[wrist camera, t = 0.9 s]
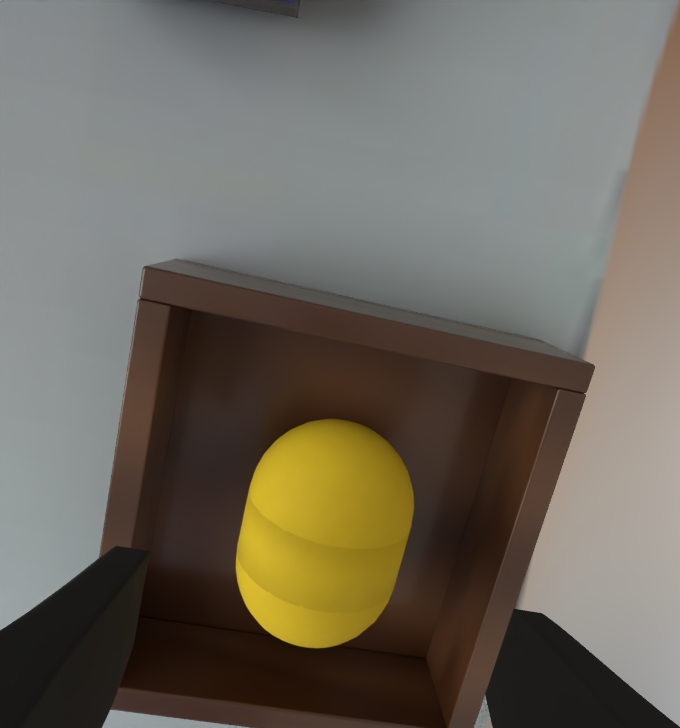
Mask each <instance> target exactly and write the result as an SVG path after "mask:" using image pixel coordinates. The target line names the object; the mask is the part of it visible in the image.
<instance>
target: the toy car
mask: <svg viewBox="0 0 680 728" xmlns="http://www.w3.org/2000/svg"><path fill="white" fill-rule="evenodd" d="M212 1H217V2H222V3H227V4H232V5H237V6H242V7H247V8H252V9H257V10H262V11H267V12H272V13H277V14H282V15H287V16H292V17H297V18H298V12H299V4H300V0H212Z"/></svg>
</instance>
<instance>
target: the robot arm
mask: <svg viewBox="0 0 680 728" xmlns="http://www.w3.org/2000/svg"><path fill="white" fill-rule="evenodd" d="M148 557H149V551H146V550H140V549H134V548H128V547H121V546H115V547H113V548H112V549H110V550H109V551H107V552H106V553H105V554H104V555H102V556H101V557H100V558H99V559H97V560H96V561H95V562H94V563H92V564H91V565H90V566H89V567H87V568H86V569H85V570H84V571H82V572H81V573H80V574H79V575H77V576H76V577H75V578H73V579H72V580H71V581H70V582H68V583H67V584H66V585H64V586H63V587H62V588H60V589H59V590H58V591H56V592H55V593H53V594H52V595H51V596H49V597H48V598H47V599H45V600H44V601H43V602H41V603H40V604H38V605H37V606H36V607H34V608H33V609H32V610H30V611H29V612H27V613H26V614H24V615H23V616H22V617H20V618H19V619H17V620H15V621H14V622H12V623H11V624H9V625H8V626H6V627H5V628H3V629H2V630H0V728H102V726H103V724H104V722H105V720H106V717H107V715H108V713H109V711H110V709H111V707H112V704H113V702H114V700H115V697H116V694H117V692H118V689H119V686H120V683H121V680H122V677H123V675H124V672H125V669H126V666H127V663H128V660H129V657H130V654H131V651H132V648H133V645H134V640H135V634H136V628H137V622H138V616H139V610H140V605H141V599H142V593H143V587H144V581H145V575H146V569H147V563H148ZM485 695H486V700H487V704H488V709H489V713H490V718H491V722H492V726H493V728H680V727H679V726H678V725H677V724H675V723H674V722H673V721H672V720H670V719H669V718H668V717H666V716H665V715H664V714H663V713H662V712H660V711H659V710H658V709H657V708H655V707H654V706H653V705H652V704H651V703H649V702H648V701H647V700H646V699H644V698H643V697H642V696H641V695H640V694H638V693H637V692H636V691H635V690H634V689H633V688H631V687H630V686H629V685H628V684H627V683H626V682H624V681H623V680H622V679H621V678H620V677H618V676H617V675H616V674H615V673H614V672H612V671H611V670H610V669H609V668H608V667H607V666H606V665H604V664H603V663H602V662H601V661H600V660H599V659H598V658H596V657H595V656H594V655H593V654H592V653H590V652H589V651H588V650H587V649H586V648H585V647H584V646H582V645H581V644H580V643H579V642H578V641H577V640H575V639H574V638H573V637H572V636H570V635H569V634H568V633H567V632H566V631H565V630H563V629H562V628H561V627H560V626H558V625H557V624H556V623H554V622H553V621H552V620H550V619H549V618H548V617H546V616H545V615H544V614H542V613H537V612H530V611H524V610H518V609H513V612H512V615H511V618H510V621H509V624H508V627H507V630H506V633H505V636H504V639H503V642H502V645H501V648H500V651H499V654H498V657H497V660H496V663H495V666H494V669H493V672H492V675H491V678H490V681H489V684H488V687H487V690H486V693H485Z"/></svg>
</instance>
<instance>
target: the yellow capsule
mask: <svg viewBox="0 0 680 728" xmlns="http://www.w3.org/2000/svg"><path fill="white" fill-rule="evenodd" d="M413 512H414V494H413V489H412V485H411V481H410V477H409V473H408V471H407V469H406V467H405V465H404V463H403V461H402V459H401V457H400V456H399V454H398V453H397V452H396V451H395V449H394V448H393V447H392V446H391V445H390V443H389V442H388V441H386V440H385V439H384V438H383V437H381V436H380V435H379V434H377V433H376V432H375V431H373V430H372V429H370V428H368V427H366V426H363V425H361V424H358V423H355V422H351V421H347V420H341V419H323V420H316V421H311V422H307V423H305V424H303V425H300V426H298V427H295V428H293V429H291V430H289V431H288V432H287V433H285V434H284V435H282V436H281V437H280V438H278V439H277V440H276V441H275V442H274V443H273V444H272V445H271V446H270V448H269V449H268V450H267V451H266V452H265V453H264V455H263V457H262V458H261V460H260V462H259V464H258V465H257V467H256V470H255V472H254V475H253V478H252V481H251V484H250V487H249V492H248V497H247V501H246V506H245V511H244V516H243V520H242V525H241V530H240V535H239V540H238V544H237V554H236V574H237V581H238V585H239V589H240V592H241V595H242V597H243V600H244V602H245V604H246V606H247V608H248V609H249V611H250V613H251V614H252V615H253V617H254V618H255V619H256V620H257V621H258V623H259V624H260V625H261V626H262V627H263V628H264V629H265V630H267V631H268V632H269V633H270V634H272V635H273V636H275V637H277V638H279V639H281V640H282V641H285V642H288V643H290V644H293V645H297V646H301V647H307V648H327V647H332V646H336V645H339V644H342V643H344V642H347V641H349V640H351V639H353V638H355V637H357V636H358V635H360V634H361V633H362V632H363V631H364V630H366V629H367V628H368V627H369V626H370V625H372V624H373V623H374V622H375V621H376V620H377V618H378V617H379V615H380V614H381V613H382V611H383V610H384V608H385V607H386V605H387V603H388V602H389V599H390V597H391V594H392V592H393V589H394V586H395V583H396V579H397V575H398V572H399V568H400V565H401V561H402V558H403V554H404V551H405V547H406V544H407V540H408V536H409V533H410V529H411V524H412V518H413Z"/></svg>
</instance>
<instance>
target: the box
mask: <svg viewBox="0 0 680 728" xmlns="http://www.w3.org/2000/svg"><path fill="white" fill-rule="evenodd" d="M139 297H140V298H141V299H139V300H138V302H137V309H136V315H135V322H134V329H133V335H132V342H131V349H130V355H129V362H128V369H127V375H126V382H125V389H124V395H123V402H122V409H121V415H120V422H119V429H118V435H117V442H116V448H115V455H114V462H113V468H112V475H111V482H110V488H109V495H108V502H107V508H106V515H105V522H104V528H103V535H102V542H101V548H100V555H99V558H100V557H101V556H102V555H104V554H105V553H106V552H107V551H109V550H110V549H112V548H113V547H115V546H121V547H128V548H134V549H140V550H146V551H149V557H148V563H147V569H146V575H145V581H144V587H143V593H142V599H141V605H140V610H139V616H138V622H137V628H136V634H135V640H134V645H133V648H132V651H131V654H130V657H129V660H128V663H127V666H126V669H125V672H124V675H123V677H122V680H121V683H120V686H119V689H118V692H117V694H116V697H115V700H114V702H113V704H112V707H111V710H118V711H126V712H134V713H142V714H150V715H158V716H165V717H173V718H181V719H189V720H197V721H204V722H212V723H220V724H228V725H236V726H244V727H251V728H474V725H475V723H476V720H477V717H478V714H479V711H480V708H481V705H482V702H483V699H484V696H485V693H486V690H487V687H488V684H489V681H490V678H491V675H492V672H493V669H494V666H495V663H496V660H497V657H498V654H499V651H500V648H501V645H502V642H503V639H504V636H505V633H506V630H507V627H508V624H509V621H510V618H511V615H512V612H513V609H514V607H515V604H516V601H517V598H518V595H519V592H520V589H521V586H522V583H523V581H524V578H525V575H526V572H527V569H528V566H529V563H530V560H531V557H532V554H533V551H534V548H535V545H536V542H537V539H538V536H539V533H540V530H541V527H542V524H543V521H544V518H545V515H546V512H547V510H548V506H549V504H550V501H551V498H552V495H553V492H554V489H555V486H556V483H557V480H558V477H559V474H560V471H561V468H562V465H563V462H564V459H565V456H566V453H567V450H568V447H569V444H570V441H571V439H572V436H573V433H574V430H575V427H576V423H577V421H578V418H579V415H580V412H581V409H582V406H583V403H584V400H585V397H586V395H585V394H584V393H586V392H587V390H588V387H589V384H590V381H591V378H592V375H593V372H594V369H595V366H594V365H593V364H591V363H589V362H587V361H584V360H582V359H580V358H578V357H576V356H574V355H571V354H569V353H567V352H565V351H563V350H560V349H558V348H556V347H554V346H552V345H549V344H547V343H545V342H543V341H541V340H538V339H533V338H529V337H524V336H520V335H516V334H511V333H507V332H502V331H498V330H493V329H489V328H484V327H480V326H475V325H471V324H466V323H462V322H457V321H453V320H448V319H444V318H439V317H435V316H430V315H426V314H422V313H417V312H413V311H408V310H404V309H399V308H395V307H390V306H386V305H381V304H377V303H372V302H368V301H363V300H359V299H354V298H350V297H345V296H341V295H336V294H332V293H328V292H323V291H319V290H314V289H310V288H305V287H301V286H296V285H292V284H287V283H283V282H278V281H274V280H269V279H265V278H260V277H256V276H251V275H247V274H242V273H238V272H234V271H229V270H225V269H220V268H216V267H211V266H207V265H202V264H198V263H193V262H189V261H184V260H180V259H174V260H171V261H166V262H162V263H157V264H153V265H148V266H144V268H143V271H142V277H141V284H140V290H139ZM323 419H341V420H347V421H351V422H355V423H358V424H361V425H363V426H366V427H368V428H370V429H372V430H373V431H375V432H376V433H377V434H379V435H380V436H381V437H383V438H384V439H385V440H386V441H388V442H389V443H390V445H391V446H392V447H393V448H394V449H395V451H396V452H397V453H398V454H399V456H400V457H401V459H402V461H403V463H404V465H405V467H406V469H407V471H408V473H409V477H410V481H411V485H412V489H413V494H414V512H413V518H412V524H411V529H410V533H409V536H408V540H407V544H406V547H405V551H404V554H403V558H402V561H401V565H400V568H399V572H398V575H397V579H396V583H395V586H394V589H393V592H392V594H391V597H390V599H389V602H388V603H387V605H386V607H385V608H384V610H383V611H382V613H381V614H380V615H379V617H378V618H377V620H376V621H375V622H374V623H373V624H372V625H370V626H369V627H368V628H367V629H366V630H364V631H363V632H362V633H361V634H360V635H358V636H357V637H355V638H353V639H351V640H349V641H347V642H344V643H342V644H339V645H336V646H332V647H327V648H307V647H301V646H297V645H293V644H290V643H288V642H285V641H282V640H281V639H279V638H277V637H275V636H273V635H272V634H270V633H269V632H268V631H267V630H265V629H264V628H263V627H262V626H261V625H260V624H259V623H258V621H257V620H256V619H255V618H254V617H253V615H252V614H251V613H250V611H249V609H248V608H247V606H246V604H245V602H244V600H243V597H242V595H241V592H240V589H239V585H238V581H237V574H236V554H237V544H238V540H239V535H240V530H241V525H242V520H243V516H244V511H245V506H246V501H247V497H248V492H249V487H250V484H251V481H252V478H253V475H254V472H255V470H256V467H257V465H258V464H259V462H260V460H261V458H262V457H263V455H264V453H265V452H266V451H267V450H268V449H269V448H270V446H271V445H272V444H273V443H274V442H275V441H276V440H277V439H278V438H280V437H281V436H282V435H284V434H285V433H287V432H288V431H289V430H291V429H293V428H295V427H298V426H300V425H303V424H305V423H307V422H311V421H316V420H323Z"/></svg>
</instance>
